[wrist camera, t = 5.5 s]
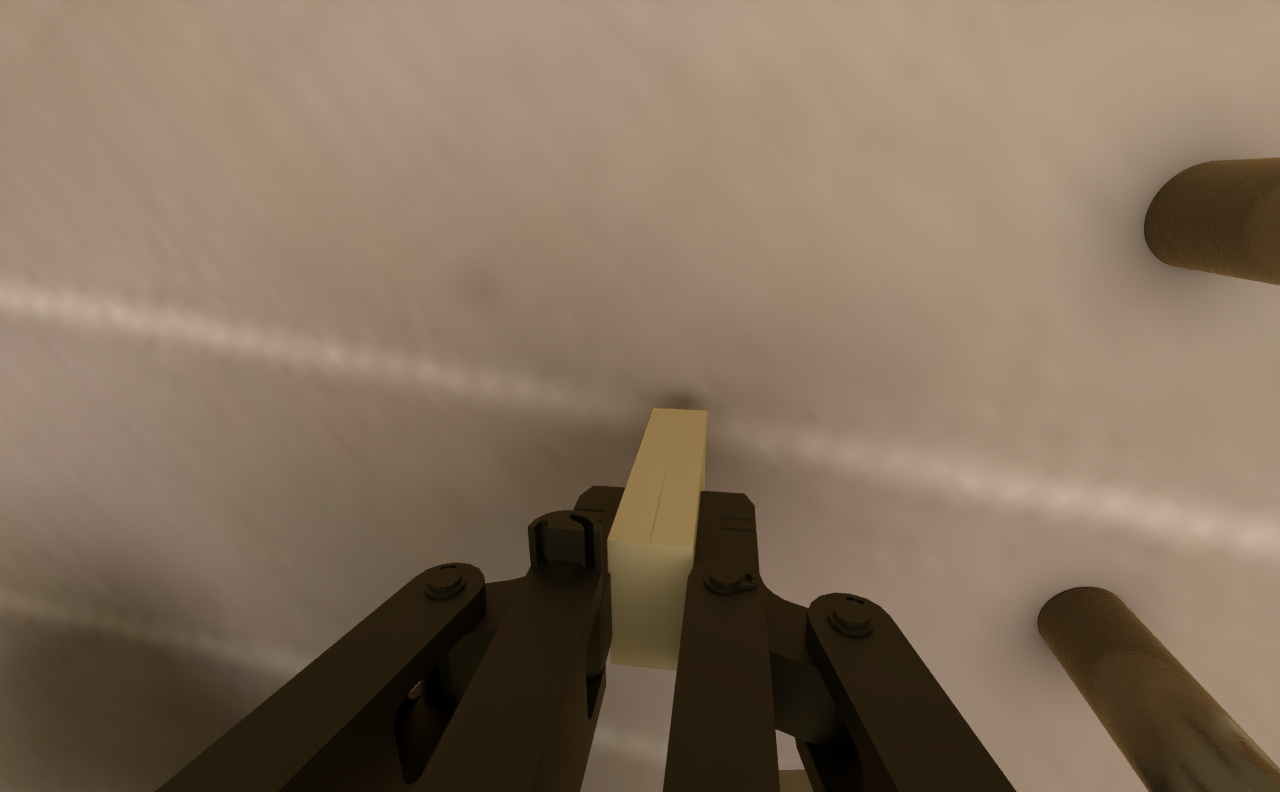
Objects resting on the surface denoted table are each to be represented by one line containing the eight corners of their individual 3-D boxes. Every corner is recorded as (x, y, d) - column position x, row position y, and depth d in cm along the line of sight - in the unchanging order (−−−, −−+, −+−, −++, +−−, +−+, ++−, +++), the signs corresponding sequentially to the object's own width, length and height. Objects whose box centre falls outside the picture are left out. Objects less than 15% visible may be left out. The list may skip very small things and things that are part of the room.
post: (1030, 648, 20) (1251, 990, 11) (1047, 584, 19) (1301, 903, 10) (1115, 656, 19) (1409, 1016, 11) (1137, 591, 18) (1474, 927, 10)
